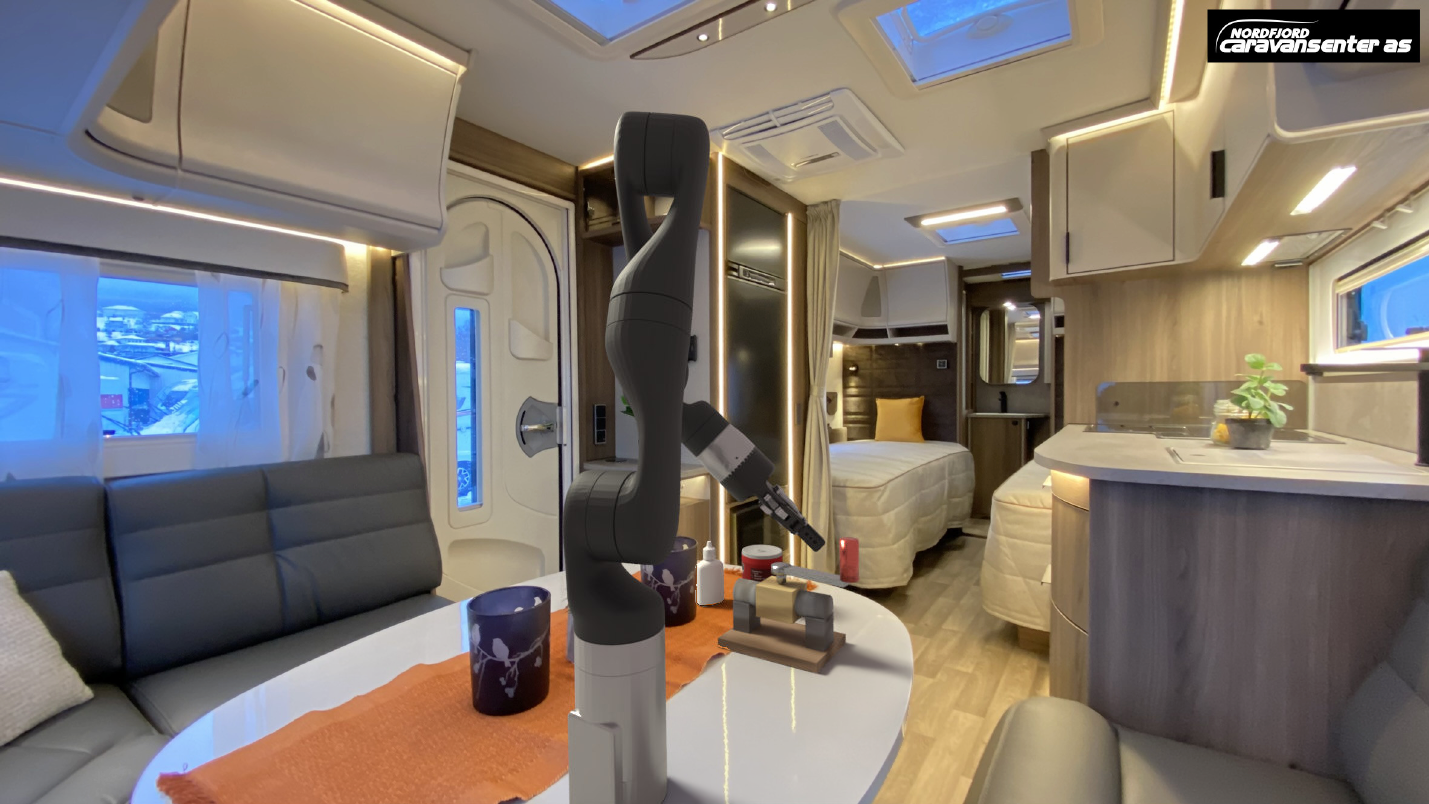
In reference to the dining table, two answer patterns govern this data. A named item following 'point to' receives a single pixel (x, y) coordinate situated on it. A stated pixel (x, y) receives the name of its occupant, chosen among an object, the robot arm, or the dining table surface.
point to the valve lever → (847, 572)
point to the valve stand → (783, 624)
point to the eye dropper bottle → (710, 577)
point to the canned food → (759, 561)
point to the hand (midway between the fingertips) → (820, 546)
